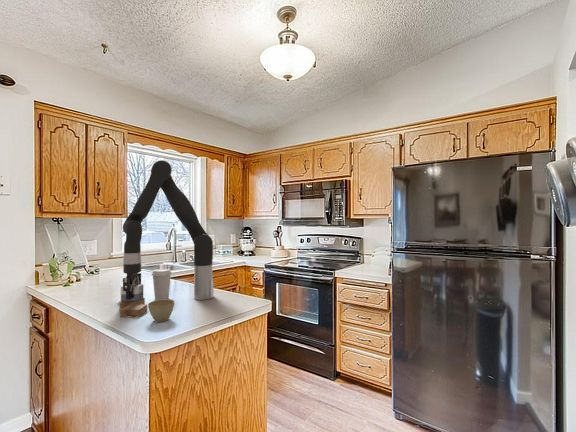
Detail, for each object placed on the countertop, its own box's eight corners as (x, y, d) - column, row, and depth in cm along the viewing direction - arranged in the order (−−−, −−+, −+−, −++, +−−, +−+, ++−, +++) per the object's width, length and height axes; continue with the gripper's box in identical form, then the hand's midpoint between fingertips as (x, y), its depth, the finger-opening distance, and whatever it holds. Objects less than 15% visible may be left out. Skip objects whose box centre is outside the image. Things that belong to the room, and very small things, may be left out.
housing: (143, 298, 149) (143, 282, 149) (138, 301, 144) (138, 284, 144) (126, 299, 149) (126, 282, 149) (121, 301, 144) (121, 284, 144)
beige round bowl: (153, 316, 131) (153, 299, 131) (177, 315, 132) (177, 298, 132) (144, 324, 121) (144, 306, 121) (170, 323, 122) (170, 305, 122)
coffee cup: (147, 300, 157) (147, 270, 158) (161, 296, 166) (161, 268, 166) (162, 302, 154) (161, 272, 154) (175, 297, 163) (175, 269, 163)
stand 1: (144, 304, 151) (144, 297, 151) (137, 308, 143) (137, 302, 143) (127, 304, 150) (127, 298, 150) (119, 309, 142) (119, 302, 142)
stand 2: (147, 311, 139) (147, 304, 139) (139, 316, 131) (139, 309, 131) (128, 311, 139) (128, 304, 139) (120, 317, 131) (119, 310, 131)
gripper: (133, 264, 140) (133, 301, 140) (146, 260, 154) (146, 293, 154) (116, 264, 140) (116, 301, 139) (131, 260, 154) (131, 294, 154)
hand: (132, 297), depth 147 cm, fingers open, 7 cm apart
